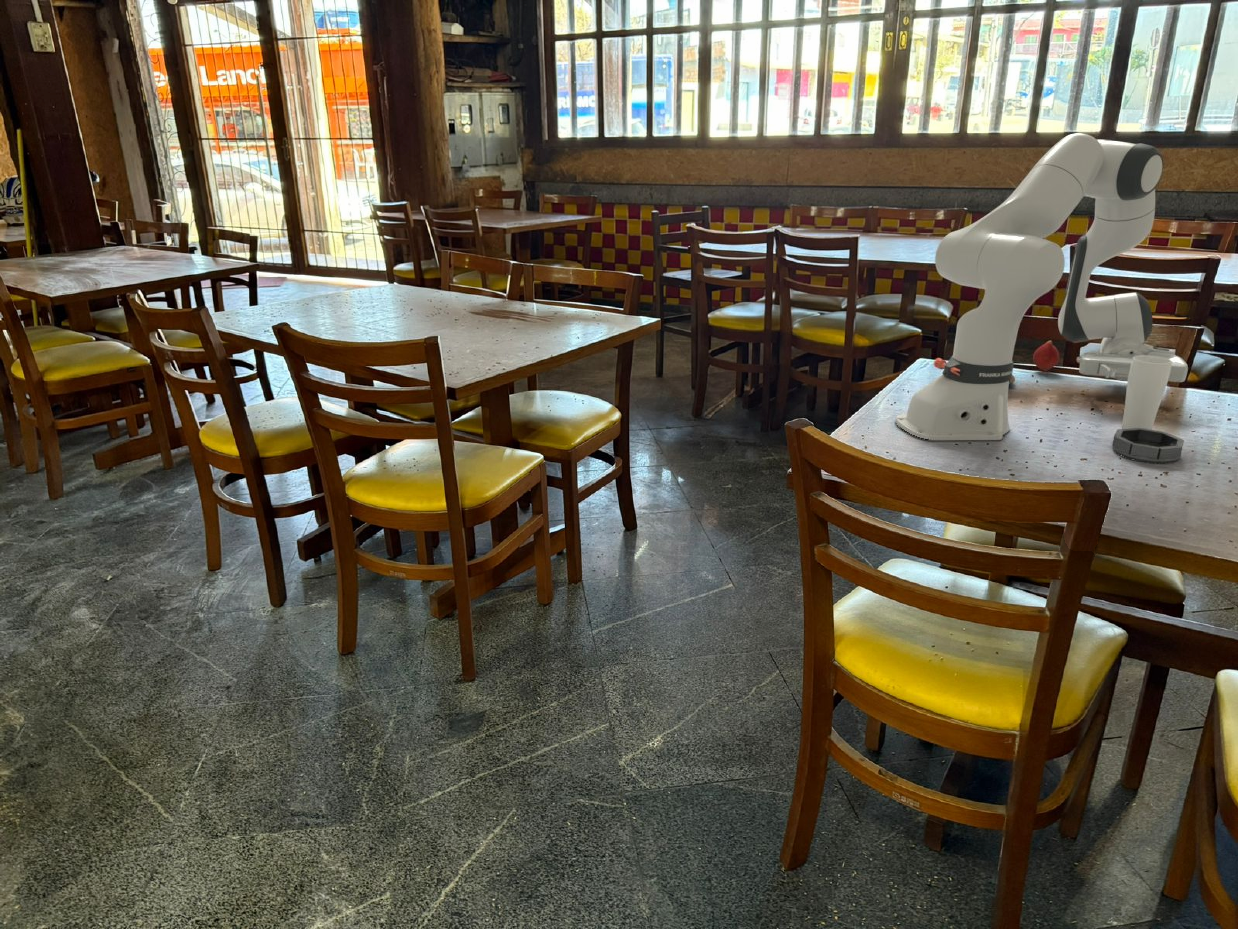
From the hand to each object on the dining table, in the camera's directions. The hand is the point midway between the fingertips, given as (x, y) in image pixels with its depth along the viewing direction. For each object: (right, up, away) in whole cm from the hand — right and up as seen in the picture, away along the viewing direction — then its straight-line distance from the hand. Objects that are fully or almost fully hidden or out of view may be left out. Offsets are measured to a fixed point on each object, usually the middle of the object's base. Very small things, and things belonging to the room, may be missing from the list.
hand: (1136, 376), depth 177 cm
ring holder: (-10, -16, -18) cm, 27 cm away
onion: (-2, +5, +35) cm, 35 cm away
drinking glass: (-5, -12, -7) cm, 15 cm away
